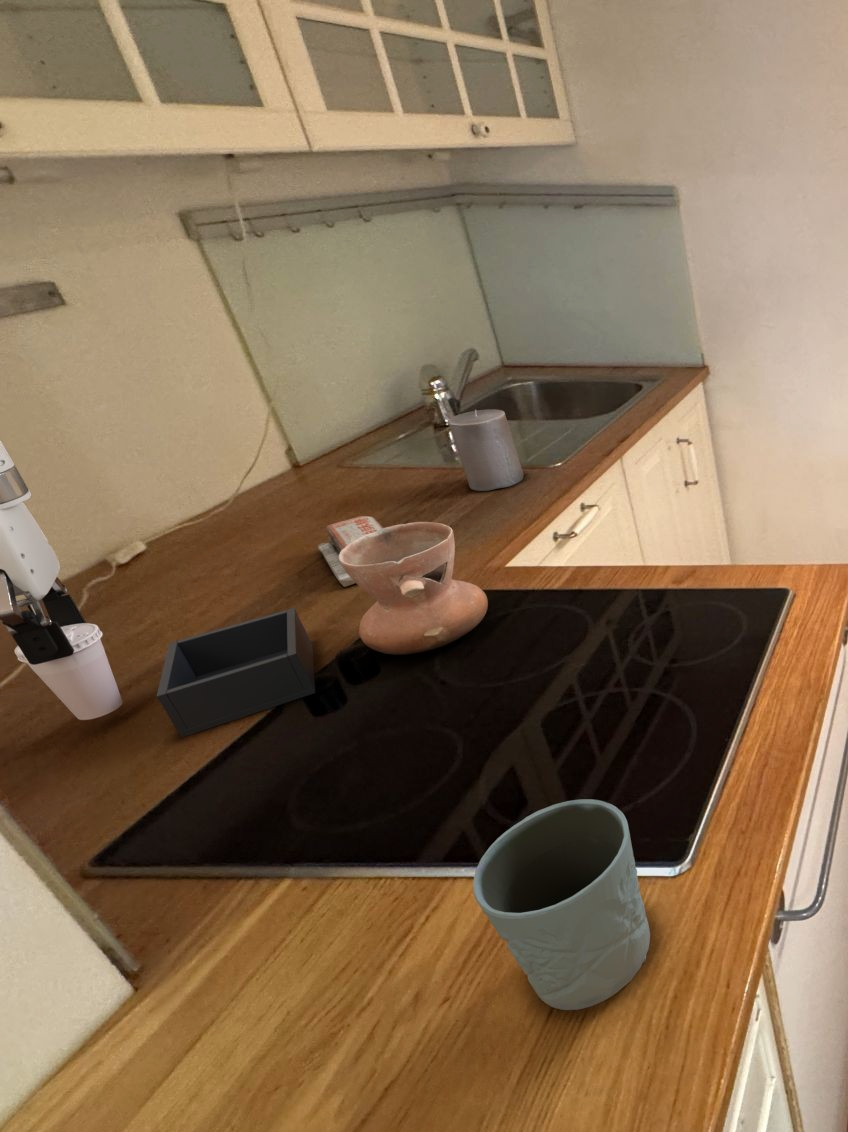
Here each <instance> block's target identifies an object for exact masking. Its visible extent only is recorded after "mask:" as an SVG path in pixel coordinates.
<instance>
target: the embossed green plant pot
mask: <svg viewBox="0 0 848 1132" xmlns="http://www.w3.org/2000/svg"><path fill="white" fill-rule="evenodd" d="M631 839H632V838H631V833H630V828H629V823H628V820H627V818H626V816H625V814H624V813H623V811H621V810H620V809H619V808H618V807H617V806H615V805H613V804H612V803H609V802H607V801H604V800H599V799H588V798H587V799H584V798H583V799H581V798H579V799H574V800H573V799H572V800H567V801H563V802H559V803H555V804H552V805H549V806H547V807H545V808H542V809H539V810H537V811H535V812H533V813H531V814H530V815H528V816H526V817H525V818H523V819H522V820H521V821H519V822H517V823H515V824H514V825H513V826H511V827H510V828H508V829H507V830H506V831H505V832H503V833H502V834H501V835H500V836H499V837H497V838H496V840H495V841H494V842H493V843H492V844H491V845H490V846H489V847H488V849H487V850H486V851H485V853H484V854H483V855H482V857H480V860H479V862H478V864H477V867H476V869H475V872H474V875H473V882H472V887H473V888H472V889H473V890H472V891H473V896H474V899H475V901H476V903H477V905H478V907H479V908H480V909H481V910H482V912H483V913H484V914H485V916H486V917H487V919H488V920H489V922H490V924H491V925H492V927H493V928H494V929H495V931H496V933H497V934H498V935H499V937H500V939H501V940H503V941H505V942H507V944H506V947H507V950H508V951H509V952H510V953H511V955H512V957H513V958H514V960H515V961H516V962H517V965H518V966H519V968H520V969H521V970H522V971H523V974H524V975H526V976H527V981H528V982H529V984H530V986H531V987H532V989H533V991H534V992H535V993H536V994H537V996H538V998H539V999H540V1000H541V1001H543V1002H544V1004H546V1005H548V1006H550V1007H551V1008H554V1009H558V1010H560V1011H577V1010H582V1009H588V1008H590V1007H594V1006H596V1005H598V1004H600V1003H602V1002H604V1001H606V1000H608V999H610V998H611V997H613V996H614V995H616V994H617V993H619V992H620V991H621V990H622V989H623V988H625V987H626V986H627V985H628V984H629V983H630V982H632V980H633V978H634V977H635V976H636V975H637V973H638V972H639V971H640V969H641V968H642V965H643V964H644V963H645V962H646V960H647V953H648V952H649V950H650V949H649V947H650V944H651V943H650V942H651V932H650V931H651V929H650V925H649V921H648V918H647V915H646V909H645V904H644V901H643V897H642V893H641V891H640V884H639V880H638V879H639V877H638V870H637V867H636V860H635V856H634V850H633V846H632V840H631Z"/></svg>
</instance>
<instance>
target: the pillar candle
mask: <svg viewBox="0 0 848 1132" xmlns="http://www.w3.org/2000/svg"><path fill="white" fill-rule="evenodd" d="M447 422H448V427H449V430H450V432H451V436H452V439H453V440H454V444H455V448H456V450H457V454H458V456H459V459H460V462H461V465H462V468H463V471H464V474H465V477H466V480H467V483H468V487H469V488H470V489H471V490H473V491H477V492H488V491H489V492H490V491H494V490H498V489H504V488H508V487H512V486H514V485H517V484H518V483H520V482H522V480H523V479H524V476H525V474H524V471H523V468H522V465H521V462H520V459H519V455H518V451H517V449H516V445H515V442H514V439H513V436H512V433H511V428H510V426H509V423H508V420H507V416H506V413H505V411H504V410H502V409H495V408H494V409H478V410H477V409H474V410H472V411H469V412H467V411H466V412H463V413H460V414H457V415H454V416H452V417H451V418H449V420H448V421H447Z"/></svg>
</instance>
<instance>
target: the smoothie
mask: <svg viewBox="0 0 848 1132" xmlns="http://www.w3.org/2000/svg"><path fill="white" fill-rule="evenodd" d="M30 606H31V608H32V609H33V606H32V605H30ZM33 611H34V609H33ZM34 613H35V611H34ZM35 614H36V613H35ZM61 629H62V631H63V632H64V634H65V636H66V637H67V639H68V641H69V642H70V644H71V645H72V647H73V649H74V653H73V654H72V655H71V656H68V657H64V658H60V659H56V660H52V661H48V662H44V663H40V664H36V665H32V664H30V663H29V662H28V660H27V659H26V657H25V655H24V654H23V652H22V651H21V649H20V648H19V646H18V645H16V647H15V648H14V654H15V655H16V657H17V661H19V662H20V663H26V664H27V666H29V667H30V669H31V670H32V671H33V672H34V673H35V674H36V675H37V676H38V677H39V678H40V680H41V681H42V682H43V683H44V684H45V685H46V687H48V688H49V689H50V691H52V693H53V694H54V695H55V696H56V697H57V698H58V699H59V700H60V702H62V704H63V705H64V706H65V707H66V708H67V709H68V710H69V711H70V712H71V713H72V714H73V716H74V717H75V718H77V719H78V720H80V721H87V720H88V721H89V720H94V719H97V718H101V717H103V716H106V715H108V714H110V713H112V712H114V711H117V709H119V708H120V707H121V706H122V705H123V700H122V696H121V693H120V690H119V688H118V687H119V686H118V684H117V682H116V679H115V676H114V674H113V671H112V668H111V665H110V662H109V659H108V656H107V654H106V651H105V647H104V644H103V642H102V640H101V639H102V637H103V636H104V635H103V631H101V629H100V627H99V625H97V624H95V623H87V622H86V623H82V624H73V625H68V626H63V627H61Z"/></svg>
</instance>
